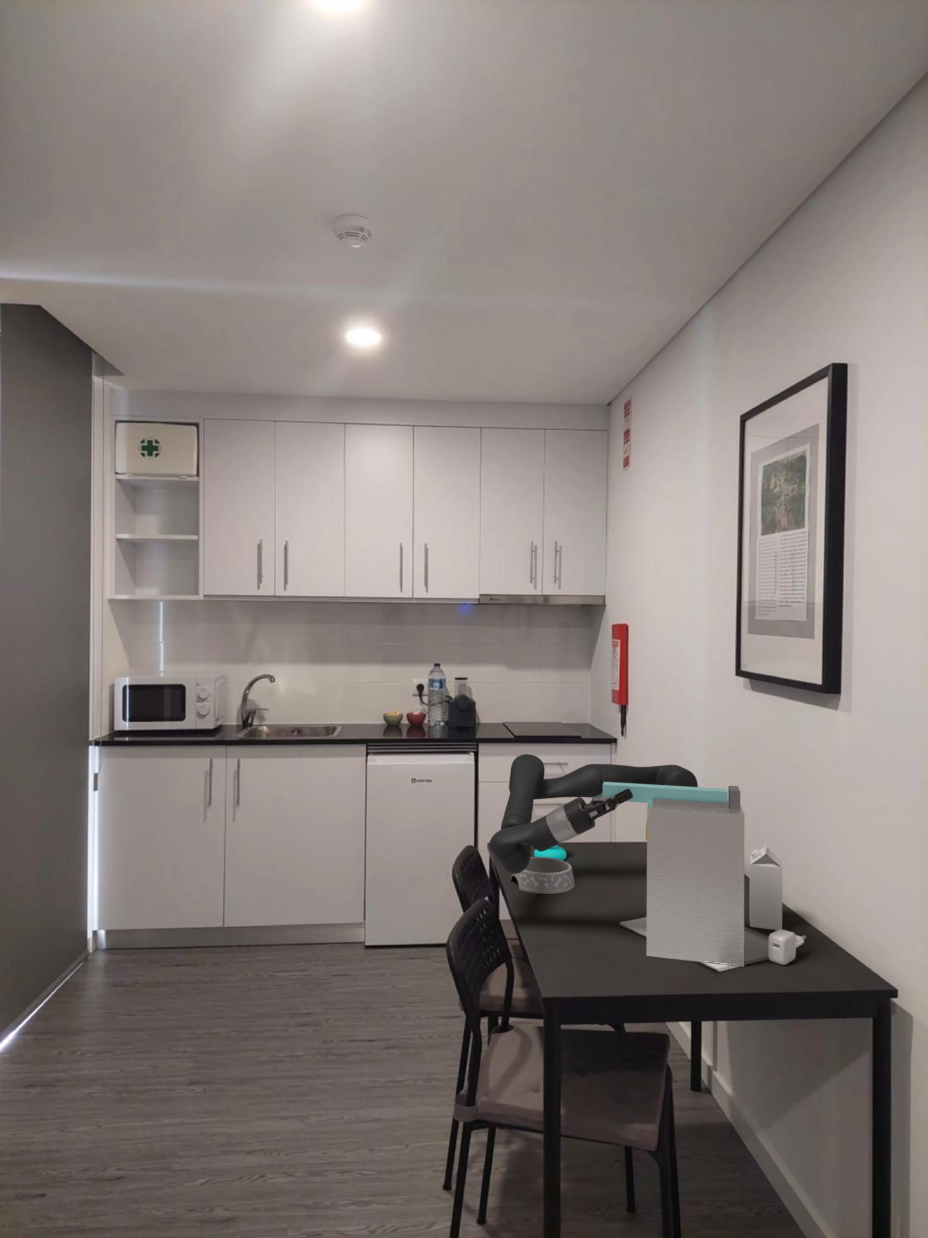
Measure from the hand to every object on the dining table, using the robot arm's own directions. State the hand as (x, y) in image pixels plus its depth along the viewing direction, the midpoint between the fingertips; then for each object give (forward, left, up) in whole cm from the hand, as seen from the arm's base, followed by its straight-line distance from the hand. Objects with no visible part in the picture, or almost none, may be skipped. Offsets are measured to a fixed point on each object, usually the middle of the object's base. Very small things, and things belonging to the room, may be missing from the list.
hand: (632, 788), depth 177 cm
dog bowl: (-11, -43, -35) cm, 56 cm away
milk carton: (-35, +11, -35) cm, 51 cm away
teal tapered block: (-5, +5, -3) cm, 7 cm away
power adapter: (-22, +25, -35) cm, 48 cm away
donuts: (-28, -59, -35) cm, 74 cm away
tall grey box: (-9, +10, -35) cm, 37 cm away
